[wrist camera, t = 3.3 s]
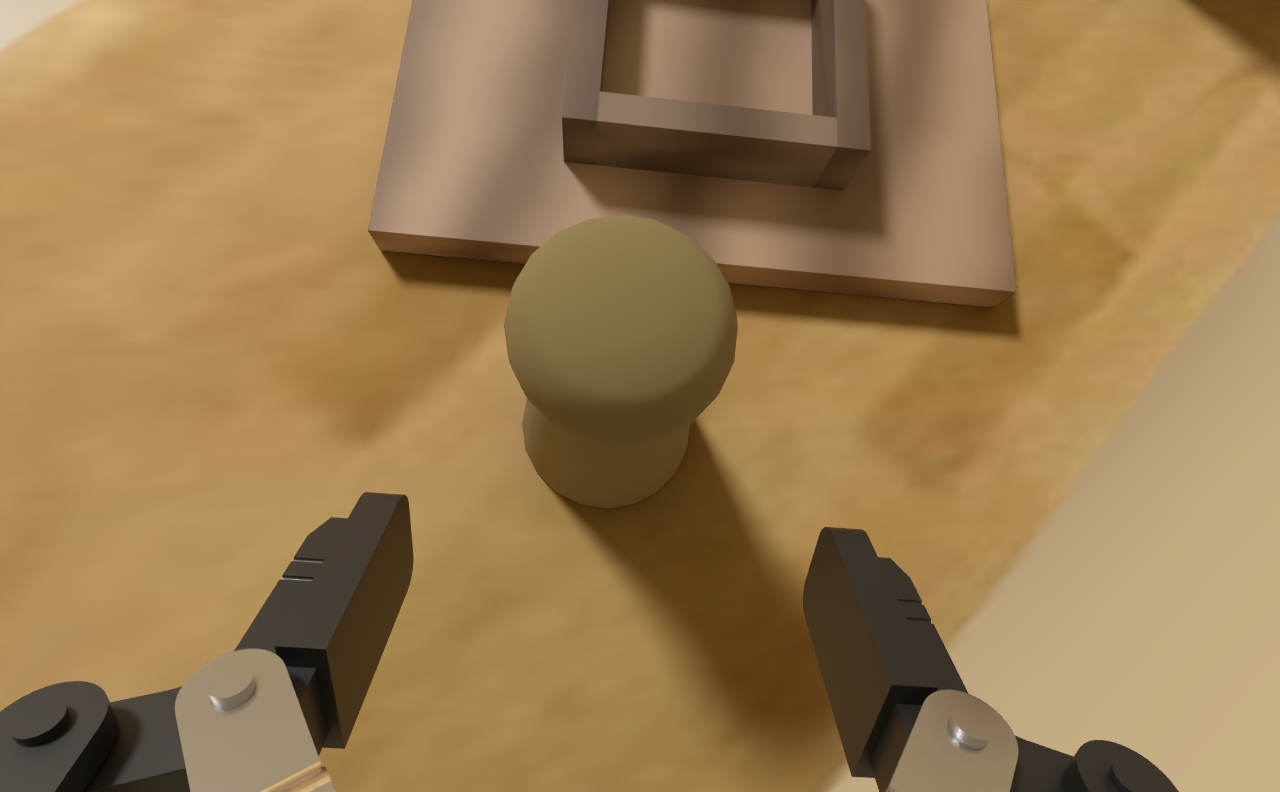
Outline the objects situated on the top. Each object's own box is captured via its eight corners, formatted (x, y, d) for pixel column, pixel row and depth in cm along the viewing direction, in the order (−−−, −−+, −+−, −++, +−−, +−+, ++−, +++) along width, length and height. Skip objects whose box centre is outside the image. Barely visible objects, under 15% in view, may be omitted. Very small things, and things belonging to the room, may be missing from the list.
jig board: (380, 250, 25) (343, 190, 21) (447, -109, 30) (427, -211, 26) (992, 307, 26) (1062, 261, 23) (960, -43, 31) (1013, -131, 28)
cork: (489, 406, 24) (414, 264, 13) (623, 315, 25) (654, 121, 15) (588, 544, 23) (594, 511, 12) (723, 441, 24) (834, 332, 14)
